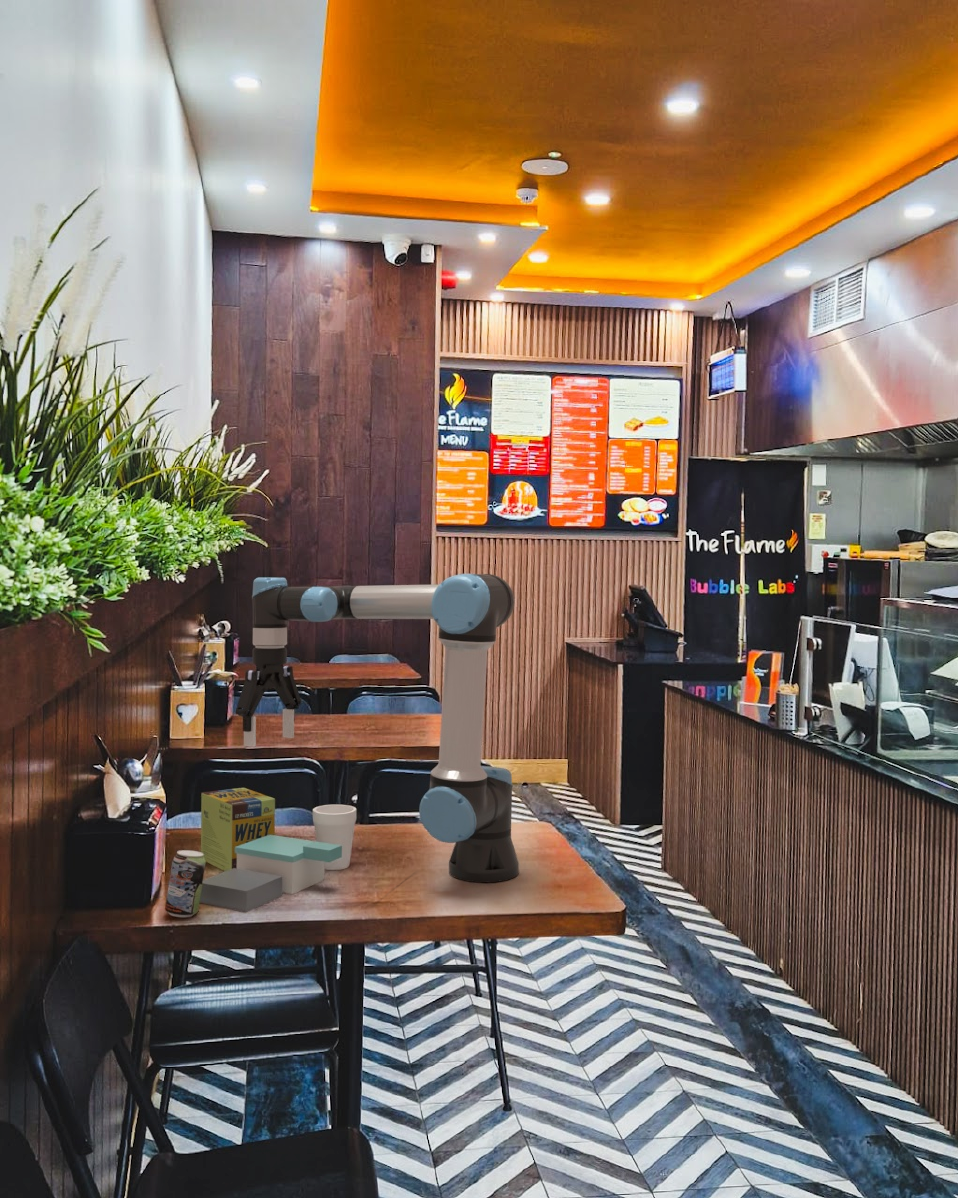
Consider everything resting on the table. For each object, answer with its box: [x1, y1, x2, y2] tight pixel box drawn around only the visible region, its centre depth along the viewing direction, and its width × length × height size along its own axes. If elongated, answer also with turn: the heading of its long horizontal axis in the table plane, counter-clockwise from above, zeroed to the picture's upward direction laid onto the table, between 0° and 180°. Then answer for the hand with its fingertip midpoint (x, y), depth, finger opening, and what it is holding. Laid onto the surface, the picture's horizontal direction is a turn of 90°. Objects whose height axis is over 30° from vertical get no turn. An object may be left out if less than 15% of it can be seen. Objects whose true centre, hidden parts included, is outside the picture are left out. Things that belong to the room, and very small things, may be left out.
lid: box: [235, 835, 342, 863], centre depth 217 cm, size 21×12×3 cm, turn 64°
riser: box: [199, 868, 283, 913], centre depth 207 cm, size 12×11×4 cm
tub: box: [237, 853, 325, 895], centre depth 218 cm, size 14×11×7 cm
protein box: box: [200, 787, 276, 872], centre depth 232 cm, size 10×15×16 cm
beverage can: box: [164, 849, 207, 918], centre depth 198 cm, size 6×7×12 cm
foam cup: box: [312, 804, 357, 871], centre depth 230 cm, size 10×9×13 cm
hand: (269, 742), depth 235 cm, fingers open, 13 cm apart
